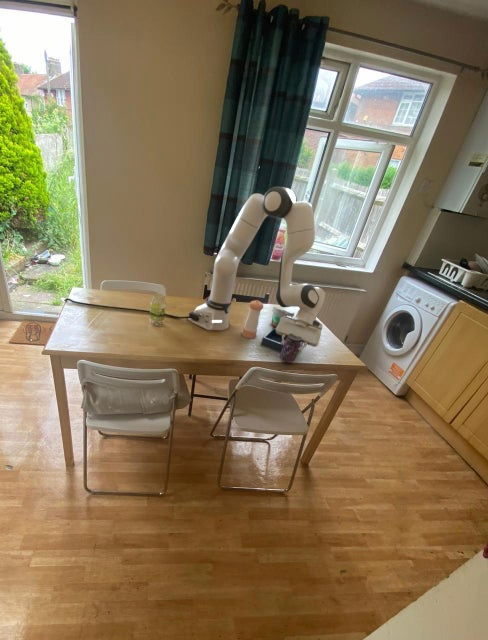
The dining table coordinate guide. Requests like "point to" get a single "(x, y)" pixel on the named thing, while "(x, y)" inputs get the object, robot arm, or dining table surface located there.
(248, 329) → the pepper shaker
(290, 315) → the food container
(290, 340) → the beverage can
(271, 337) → the tray
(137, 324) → the dining table surface
